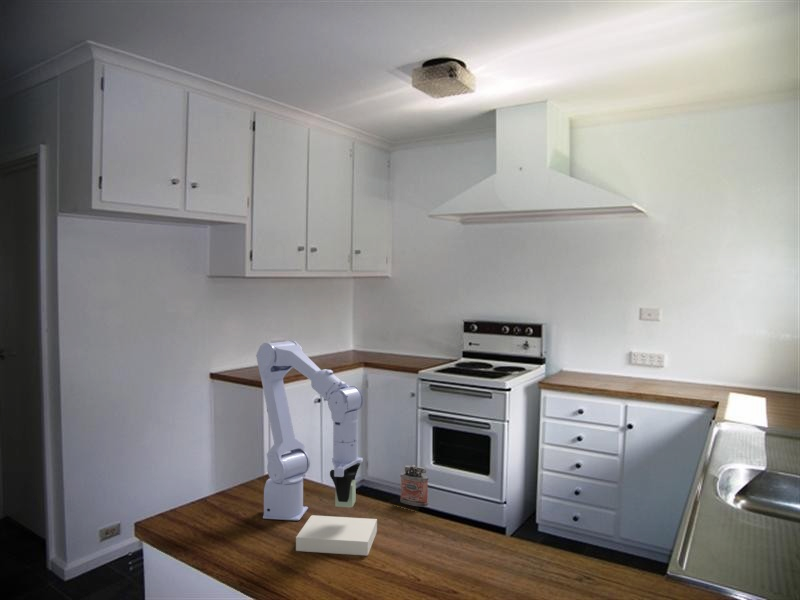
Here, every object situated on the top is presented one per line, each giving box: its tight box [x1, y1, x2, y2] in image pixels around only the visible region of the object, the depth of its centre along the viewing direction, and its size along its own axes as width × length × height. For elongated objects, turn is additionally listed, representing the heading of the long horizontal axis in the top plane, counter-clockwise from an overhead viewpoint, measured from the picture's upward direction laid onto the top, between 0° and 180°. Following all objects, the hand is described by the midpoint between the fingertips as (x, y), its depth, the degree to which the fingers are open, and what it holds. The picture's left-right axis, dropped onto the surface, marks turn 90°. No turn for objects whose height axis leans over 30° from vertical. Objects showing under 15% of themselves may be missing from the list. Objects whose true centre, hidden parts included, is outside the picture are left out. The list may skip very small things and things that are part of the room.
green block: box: [334, 479, 357, 508], centre depth 129 cm, size 4×4×5 cm
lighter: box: [399, 464, 429, 508], centre depth 149 cm, size 8×3×10 cm, turn 62°
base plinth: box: [295, 514, 378, 557], centre depth 126 cm, size 16×12×3 cm
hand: (345, 497), depth 129 cm, fingers closed on green block, 4 cm apart
